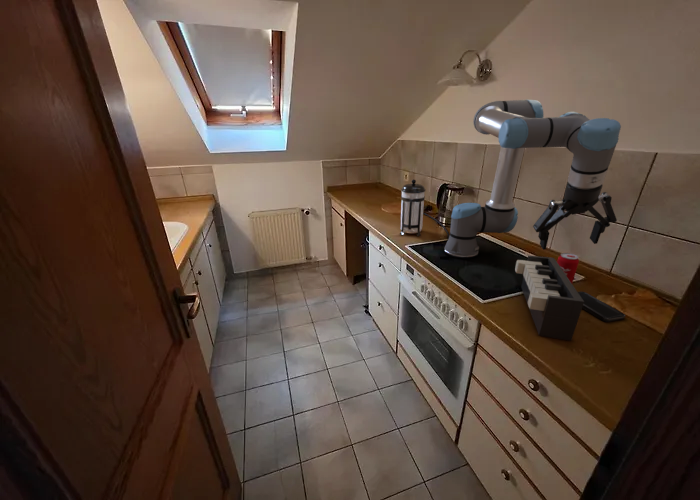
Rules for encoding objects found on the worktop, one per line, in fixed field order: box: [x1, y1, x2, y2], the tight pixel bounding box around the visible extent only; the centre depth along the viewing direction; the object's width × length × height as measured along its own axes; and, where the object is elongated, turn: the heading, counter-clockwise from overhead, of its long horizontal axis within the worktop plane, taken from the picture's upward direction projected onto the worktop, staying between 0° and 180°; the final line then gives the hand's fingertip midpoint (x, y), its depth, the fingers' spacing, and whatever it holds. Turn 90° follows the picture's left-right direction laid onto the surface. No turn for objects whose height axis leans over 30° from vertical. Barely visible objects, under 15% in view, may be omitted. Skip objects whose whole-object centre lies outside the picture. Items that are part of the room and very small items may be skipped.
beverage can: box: [556, 252, 580, 284], centre depth 109 cm, size 6×6×12 cm
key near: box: [527, 292, 557, 311], centre depth 85 cm, size 3×8×4 cm, turn 71°
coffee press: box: [399, 179, 426, 237], centre depth 162 cm, size 17×16×30 cm
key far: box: [514, 259, 542, 275], centre depth 105 cm, size 3×8×4 cm, turn 71°
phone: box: [577, 291, 626, 323], centre depth 98 cm, size 8×1×15 cm
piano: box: [520, 254, 584, 342], centre depth 95 cm, size 29×10×13 cm, turn 161°
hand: (567, 243), depth 91 cm, fingers open, 13 cm apart
